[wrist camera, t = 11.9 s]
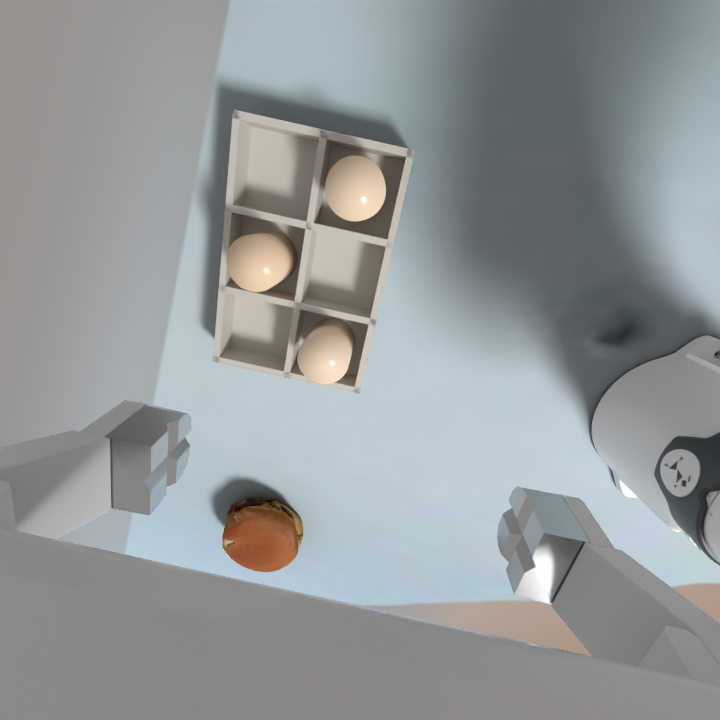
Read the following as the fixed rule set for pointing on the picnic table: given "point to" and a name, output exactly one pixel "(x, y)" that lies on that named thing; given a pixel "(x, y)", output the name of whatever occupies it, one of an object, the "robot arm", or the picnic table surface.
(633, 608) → the robot arm
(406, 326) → the picnic table surface
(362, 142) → the carton
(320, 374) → the egg
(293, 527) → the burger
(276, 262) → the egg
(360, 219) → the egg
